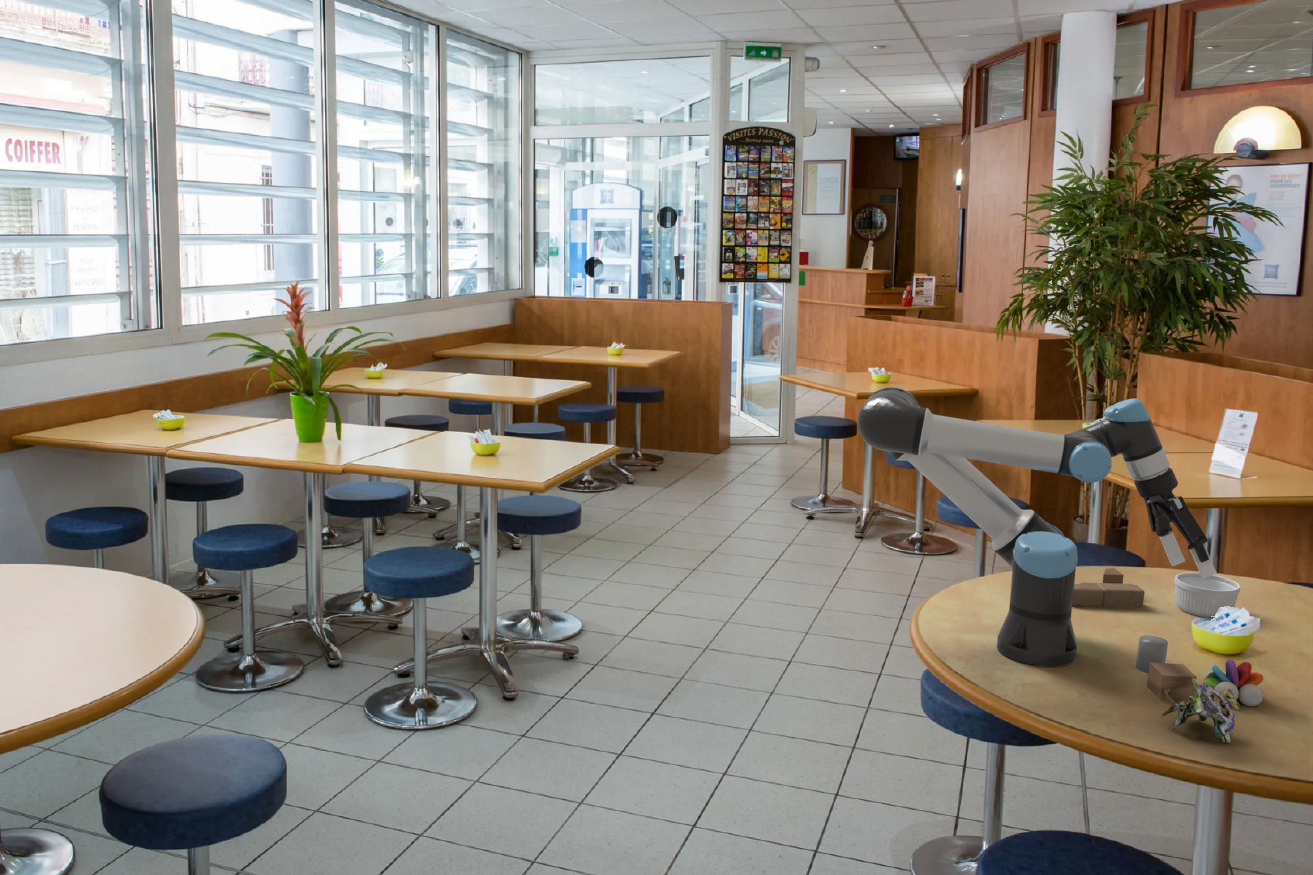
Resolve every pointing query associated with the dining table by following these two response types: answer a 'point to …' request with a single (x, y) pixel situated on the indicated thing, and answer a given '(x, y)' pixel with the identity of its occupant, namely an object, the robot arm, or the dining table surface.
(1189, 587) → the ramekin
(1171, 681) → the walnut block
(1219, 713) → the passion flower
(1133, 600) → the wooden block set
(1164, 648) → the grey cylinder
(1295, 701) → the dining table surface
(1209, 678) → the rainbow cloud toy
